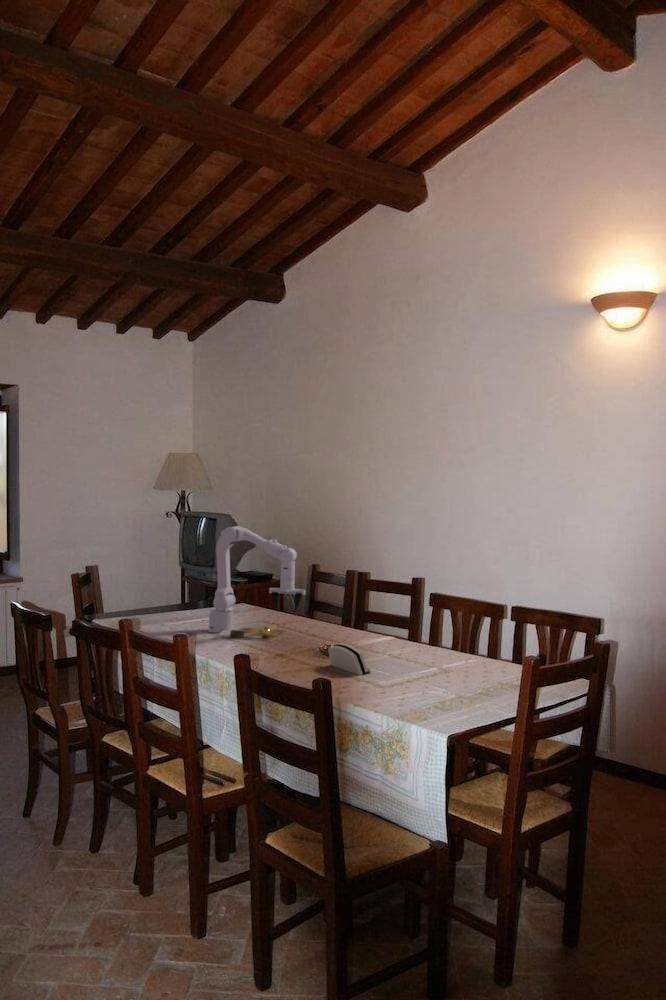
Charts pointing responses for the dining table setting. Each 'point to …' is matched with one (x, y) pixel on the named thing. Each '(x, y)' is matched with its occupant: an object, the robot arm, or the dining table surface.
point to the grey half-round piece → (348, 658)
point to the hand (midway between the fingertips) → (286, 611)
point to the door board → (253, 634)
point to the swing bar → (268, 630)
